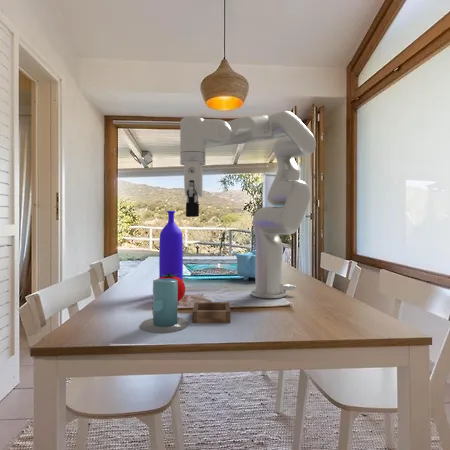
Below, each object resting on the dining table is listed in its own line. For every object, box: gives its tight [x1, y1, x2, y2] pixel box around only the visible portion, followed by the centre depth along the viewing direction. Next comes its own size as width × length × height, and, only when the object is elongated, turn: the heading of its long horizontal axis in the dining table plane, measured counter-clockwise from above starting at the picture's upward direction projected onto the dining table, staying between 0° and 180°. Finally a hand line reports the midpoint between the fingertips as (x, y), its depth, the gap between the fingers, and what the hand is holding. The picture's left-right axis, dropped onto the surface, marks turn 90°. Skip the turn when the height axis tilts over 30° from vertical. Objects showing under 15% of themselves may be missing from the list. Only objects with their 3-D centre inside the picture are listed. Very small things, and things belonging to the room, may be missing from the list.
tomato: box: [158, 273, 186, 303], centre depth 118 cm, size 10×10×10 cm
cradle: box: [191, 301, 231, 324], centre depth 102 cm, size 10×10×4 cm
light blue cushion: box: [232, 249, 256, 281], centre depth 165 cm, size 18×16×13 cm
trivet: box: [140, 316, 189, 334], centre depth 94 cm, size 12×12×1 cm
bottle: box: [158, 210, 184, 282], centre depth 131 cm, size 8×8×30 cm
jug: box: [152, 278, 179, 327], centre depth 92 cm, size 10×6×11 cm, turn 171°
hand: (192, 216), depth 111 cm, fingers open, 9 cm apart
